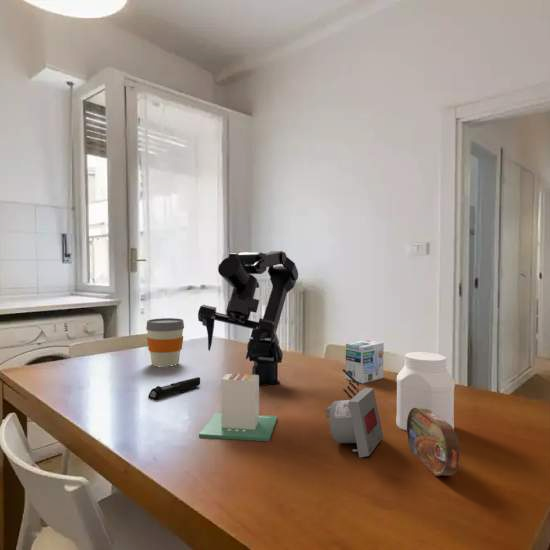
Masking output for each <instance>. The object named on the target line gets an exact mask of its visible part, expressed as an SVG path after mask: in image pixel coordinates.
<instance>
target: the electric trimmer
mask: <svg viewBox="0 0 550 550" xmlns="http://www.w3.org/2000/svg"><path fill="white" fill-rule="evenodd" d="M200 385H201V377H200V376H199V377H197V376H196V377H193V378H190V379H184V380H182V381H177V382H173V383H170V384H166V385H163V386H159V385H157V386H156V387H153V388H152V389H151V390H150V391H149V394H148V399H150V400H153V401H160V399H161V398H164V397H168V396H170V395H174V394H178V393H185V392H188V391H189V390H191V389H194V388H197V387H199V386H200Z"/></svg>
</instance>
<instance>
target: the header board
mask: <svg viewBox="0 0 550 550" xmlns="http://www.w3.org/2000/svg"><path fill="white" fill-rule="evenodd" d="M277 420H278V415H267V414H265V415H263V414H261V415H260V414H259V422H258V424H257V426H256V428H255V430H254V429H237V428H221V412H215V413H214V414H213V415H212V417H211V418H210V419H209V421H208V422H207V423H206V424H205V426H204V427H203V428H202V429H201V431H200V432H199V434H198V437H199V438H206V439H207V438H208V439H225V440H226V439H228V440H238V439H239V440H241V441H242V440H243V441H254V440H255V442H256V441H257V442H270V439H271V437H272V434H273V431H274V429H275V425H276V423H277Z"/></svg>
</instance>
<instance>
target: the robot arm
mask: <svg viewBox="0 0 550 550" xmlns="http://www.w3.org/2000/svg"><path fill="white" fill-rule="evenodd" d="M217 271H218V273H219V275H220V276H221V277H222V278H223V279H224V281H225V282H226V283H227V284H228V285H229V286H230V287H232V290H231V295H230V299H229V301H228V304H227V307H226V309H225V313H226V314H224V313H221V312H217V307H215V306H210V305H206V304H202V305H201V306H199V309H198V312H197V319H198V321H199V322H200V323H202V324H201V325H202V326H203V327H205V328H206V334H207V347H208V348H207V350H208V351H211V348H212V344H213V337H214V331H215V330H214V329H215V321H217V322H223V323H227V324H230V325H233V326H234V325H235V326H238V327H239V326H240V327H243V328H246V329H252V330H251V335H250V337H249V339H248V342H247V345H246V346H247V352H246V355H245V360H249V362H253V365H252V366H251V368H252V369H251V370H252V371H251V372H252V373H251V374H252V375H259V387H260V386H267V385H277V384H281V381H280V380H279V379H278V376H279V375H278V374H279V373H278V370H279V369H278V367H279V366H278V364H281V363H282V360H283V357H284V356H283V351H282V349H281V346H280V345H279V343H280V340H279V338H278V336H277V335H278V334H277V329H278V327H279V323H280V319H281V316H282V312H283V308H284V305H285V302H286V298H287V294H288V293H289V292H290V291H291V290H293V289H294V288H295V285H296V282H297V281H298V279H299V271H298V268H297V265H296V263H295V262H294V261H293V260H291V259H290V258H289V257H288V256H287V254H286V252H285V251H283V250H279V251H278V250H272V251H269V252H264V253H263V252H240V253H237V252H236V253H229V255H228V256H227V257H226V258H224V259H223V260H222V261H221V262H220V263H219V264H218V267H217ZM266 271H267V273H268V276H269V280H270V282H271V285H272V286H271V287H272V288H271V290H270V291H271V292H270V294H269V298H268V301H267V305H266V307H265V309H264V310H265V311H264V314H263V318H262V317H260V318H259V319H258V321H254V320H249V319H250V315H251V312H252V313H255V314H256V313H257V312H258V307H259V304H260V303H259V302H260V299H257V298H255V293H256V289H259V288H260V284H259V281H258V279H257V277H255V275H262V274H264V273H265V272H266Z"/></svg>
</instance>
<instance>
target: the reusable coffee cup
mask: <svg viewBox="0 0 550 550" xmlns="http://www.w3.org/2000/svg"><path fill="white" fill-rule="evenodd" d="M184 324H185V323H184V319H182V318H173V317H167V318H153V319H148V320H146V327H145V328H146V332H147V337H146V340H147V348H148V351H149V353H150V361H151V366H152V365H154V366H171V365H175V364H178V363H179V364H180V356H181V351H182V349H183V343H184V342H183V341H184V335H183V332H184V329H185V325H184ZM179 364H178V365H179ZM154 366H153V367H154ZM171 367H172V366H171Z"/></svg>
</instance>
